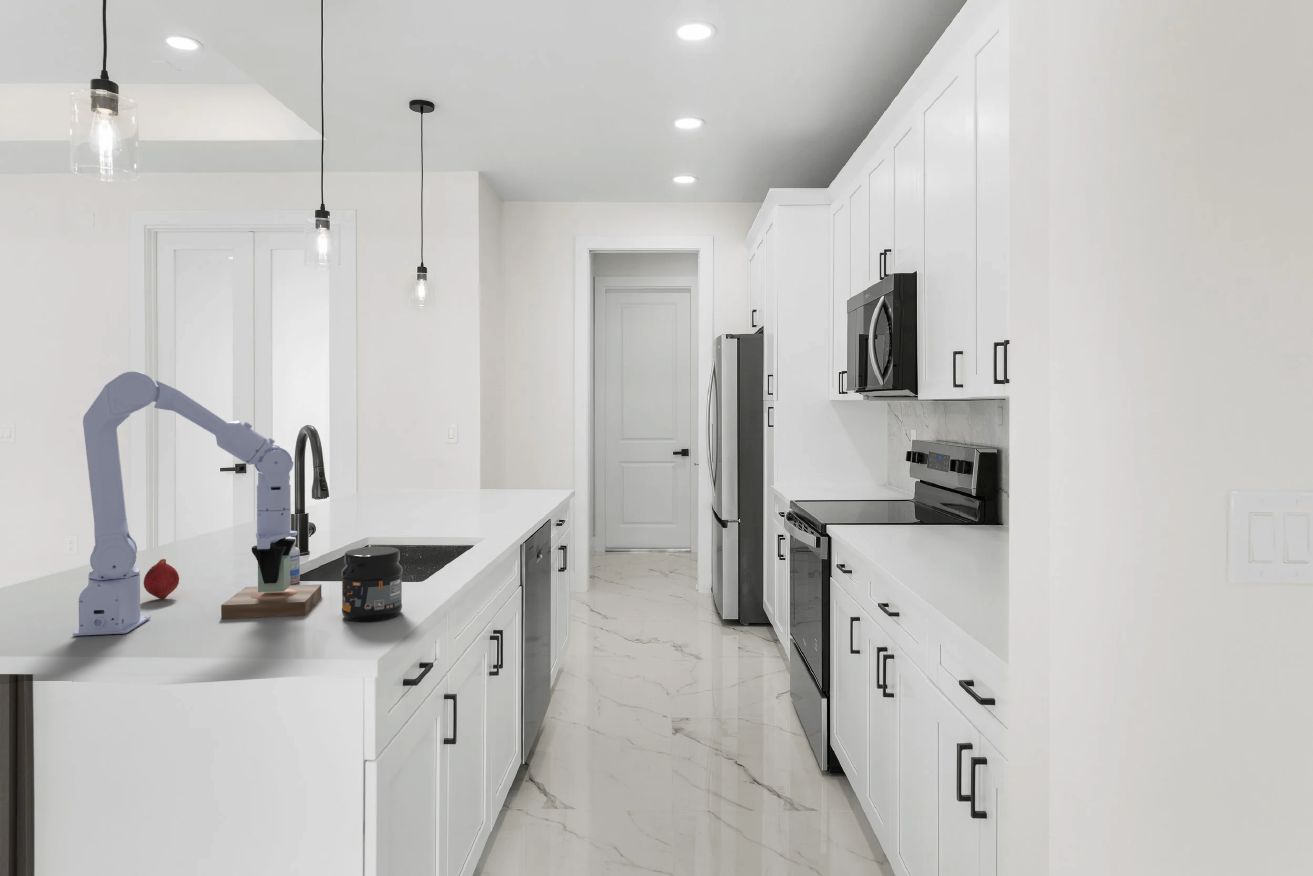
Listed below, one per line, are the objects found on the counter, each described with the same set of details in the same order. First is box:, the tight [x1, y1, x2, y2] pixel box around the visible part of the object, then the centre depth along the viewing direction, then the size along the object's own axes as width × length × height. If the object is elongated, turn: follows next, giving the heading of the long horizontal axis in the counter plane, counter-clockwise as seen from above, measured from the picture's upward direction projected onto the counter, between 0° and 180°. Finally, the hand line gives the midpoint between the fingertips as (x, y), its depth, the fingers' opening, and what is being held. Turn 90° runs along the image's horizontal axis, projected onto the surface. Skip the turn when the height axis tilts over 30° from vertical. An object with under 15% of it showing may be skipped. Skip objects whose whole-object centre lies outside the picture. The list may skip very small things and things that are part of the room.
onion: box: [143, 558, 180, 600], centre depth 148 cm, size 6×6×8 cm
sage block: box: [257, 555, 290, 592], centre depth 143 cm, size 4×4×6 cm
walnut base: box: [220, 583, 322, 620], centre depth 143 cm, size 14×14×3 cm
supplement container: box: [340, 546, 403, 623], centre depth 138 cm, size 10×10×12 cm
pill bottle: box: [286, 536, 301, 585], centre depth 163 cm, size 6×5×10 cm
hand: (274, 580), depth 143 cm, fingers closed on sage block, 4 cm apart
